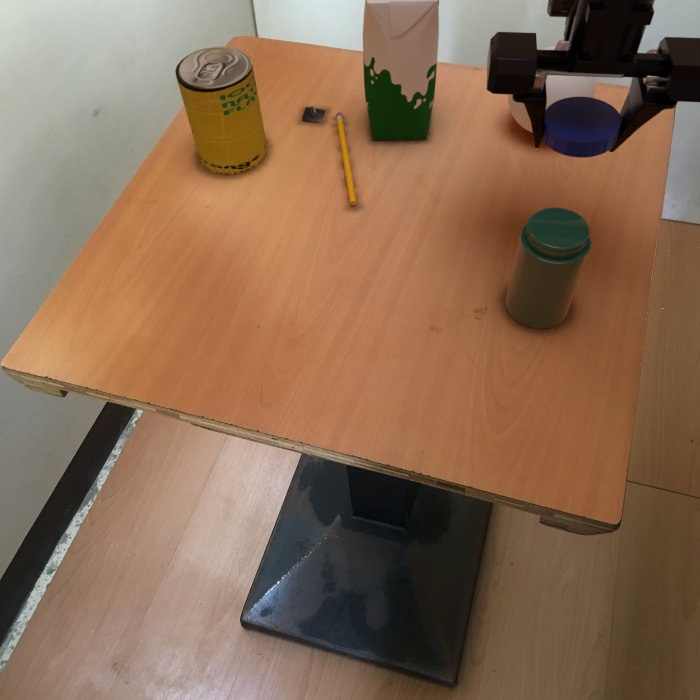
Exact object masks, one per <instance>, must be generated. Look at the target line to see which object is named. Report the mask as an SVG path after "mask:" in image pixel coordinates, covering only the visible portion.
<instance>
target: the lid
mask: <svg viewBox="0 0 700 700" xmlns="http://www.w3.org/2000/svg"><path fill="white" fill-rule="evenodd" d="M620 127H621V116H620V112H619V111H618V110H617V108H616V107H614V106H613V105H612V104H610V103H608V102H607V101H604V100H601V99H600V98H599V99H598V98H595V97H594V98H590V97H569V98H564V99H561V100H558V101H556V102H554V103H553V104H551V105H550V106H549V107H548V108H547V109H546V112H545V120H544V129H543V136H542V142H543V144H544V145H546V147H548V148H549V149H550V150H552V151H554V152H556V153H558V154H559V155H563V156H566V157H570V158H571V157H572V158H579V159H580V158H583V159H584V158H593V157H597V156H600V155H603V154H606V153H607V152H609V150H610V149H611V148H612V147H614V144H615V143H616V140H618V139H617V138H618V136H619V133H620V130H621V129H620Z"/></svg>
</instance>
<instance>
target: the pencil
mask: <svg viewBox="0 0 700 700" xmlns="http://www.w3.org/2000/svg"><path fill="white" fill-rule="evenodd" d="M335 116H336V118H335V119H336V123H337V131H338V136H339V142H340V149H341V155H342V161H343V167H344V174H345V180H346V187H347V194H348V199H349V204H350V205H351V207H353V206H356V205H357V196H356V190H355V184H354V179H353V172H352V166H351V160H350V155H349V149H348V144H347V143H348V142H347V137H346V130H345V125H344V119H343V114H342V112H337V113H336V115H335Z"/></svg>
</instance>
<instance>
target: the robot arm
mask: <svg viewBox="0 0 700 700" xmlns="http://www.w3.org/2000/svg"><path fill="white" fill-rule="evenodd" d="M655 2H656V0H548V1H547V7H546V11H547V12H546V13H547V15H548V16H549V17H550V18H565V23H564V25H565V27H564V31H563V39H564V41H568V46H567V50H539V49H538V42H537V32H521V31H520V32H518V31H516V32H515V31H497V32H495V34H494V35H493V36H491V38H490V39H489V44H488V52H487V59H486V60H487V63H486V91H488V92H489V93H491V94H492V95H508V94H510V95H512V99H513V100H514V101H515V102H518V103H524V105H525V108H526V110H527V113H528V116H529V118H530V121H531V126H532V132H533V133H532V139H533V144H534V148H535V149H540V147H541V145H542V142H543V139H542V136H543V129H544V120H545V112H546V103H547V93H546V79H547V76H548V75H560V76H586V77H595V78H613V79H614V78H616V79H623V78H631V81H630V86H629V90H628V92H627V96H626V98H625V100H624V102H623V104H622V107H621V109H620V112H619V114H620V116H621V127H620V129H621V130H620V133H619V136H618V138H617V139H618V140H616V143H615V144H614V147H612V148H611V149H610V150H608V152H609V153H614V152H615V151H616V150H617V149H619V148H620V146H622V145H623V144H624V143H625V142H626V141H627V140H628V139H629V138H630V137H631V136H632V135H633V134H635V133H636V132H637V131H638V130H639V129H640V128H641V127H642V126H644V125H645V124H647V123H648V122H649V121H651V120H652V119H653V118H655V117H656V116H657V115H659V114H660V113H661V112H663V111H665V110H673V109H675V108H676V107H677V105H678V103H679V102H680V103H682V102H683V103H700V37H685V36H684V37H683V36H682V37H679V36H664V37H663V38H662V39H661V40H660V41H659V44H658V46H657V49H649V50H647V51H646V52H639V49H640V46H641V43H642V40H643V37H644V35H645V31H646V28H647V26H651V23H652V21H653V18H654V15H655V9H654V4H655Z"/></svg>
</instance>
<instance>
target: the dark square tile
mask: <svg viewBox="0 0 700 700" xmlns="http://www.w3.org/2000/svg"><path fill="white" fill-rule="evenodd" d="M325 113H326V109H321V108H320V109H319V108H315V107H314V106H310V107H308V106H305V108H304V110H303V114H302V117H301V120H302V121H306V122H312V123H318V124H322V123H323V120H324V117H325V115H326V114H325Z"/></svg>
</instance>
